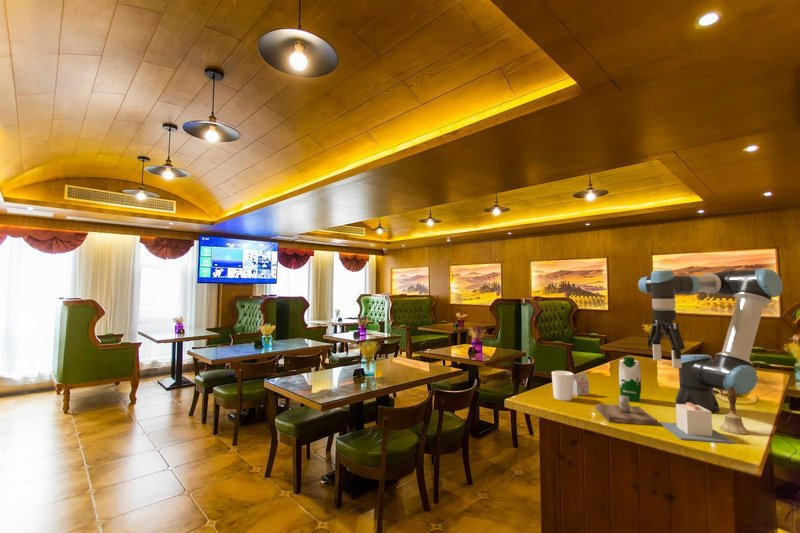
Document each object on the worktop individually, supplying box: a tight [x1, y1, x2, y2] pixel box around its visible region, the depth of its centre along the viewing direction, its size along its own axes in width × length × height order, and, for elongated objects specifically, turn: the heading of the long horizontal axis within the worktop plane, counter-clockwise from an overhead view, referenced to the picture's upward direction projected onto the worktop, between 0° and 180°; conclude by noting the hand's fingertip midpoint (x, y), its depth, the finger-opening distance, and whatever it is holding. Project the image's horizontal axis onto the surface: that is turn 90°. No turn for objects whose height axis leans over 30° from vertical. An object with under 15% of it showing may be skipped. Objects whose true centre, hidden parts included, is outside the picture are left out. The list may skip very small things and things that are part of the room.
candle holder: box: [551, 370, 574, 402], centre depth 179 cm, size 10×10×12 cm
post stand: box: [595, 394, 659, 426], centre depth 153 cm, size 17×17×8 cm
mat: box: [658, 421, 735, 445], centre depth 136 cm, size 16×16×1 cm
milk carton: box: [618, 356, 642, 403], centre depth 178 cm, size 9×9×20 cm
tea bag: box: [573, 373, 590, 397], centre depth 185 cm, size 4×7×10 cm, turn 105°
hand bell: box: [719, 386, 750, 436], centre depth 139 cm, size 8×8×16 cm
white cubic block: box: [675, 402, 713, 436], centre depth 136 cm, size 8×8×9 cm
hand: (666, 364), depth 146 cm, fingers open, 13 cm apart
